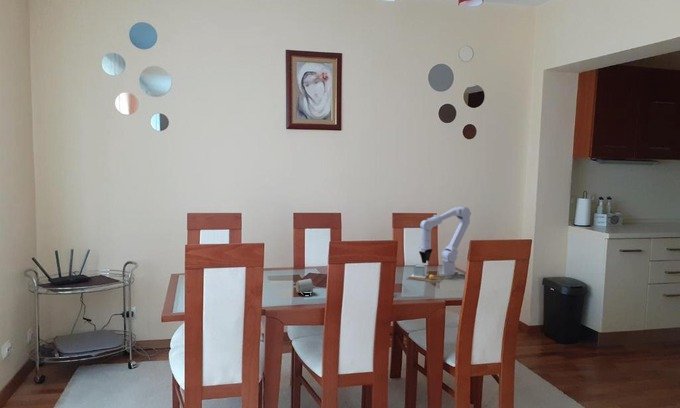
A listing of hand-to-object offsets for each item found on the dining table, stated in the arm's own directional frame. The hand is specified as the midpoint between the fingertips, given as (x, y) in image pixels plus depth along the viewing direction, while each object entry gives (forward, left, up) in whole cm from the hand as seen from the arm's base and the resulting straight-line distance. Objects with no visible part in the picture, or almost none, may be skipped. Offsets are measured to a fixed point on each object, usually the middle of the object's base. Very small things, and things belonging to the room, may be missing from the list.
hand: (425, 261), depth 289 cm
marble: (+9, +6, -7) cm, 13 cm away
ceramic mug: (+65, -48, -10) cm, 82 cm away
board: (+6, +2, -9) cm, 11 cm away
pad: (+3, -3, -8) cm, 9 cm away
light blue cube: (+3, -3, -8) cm, 9 cm away
